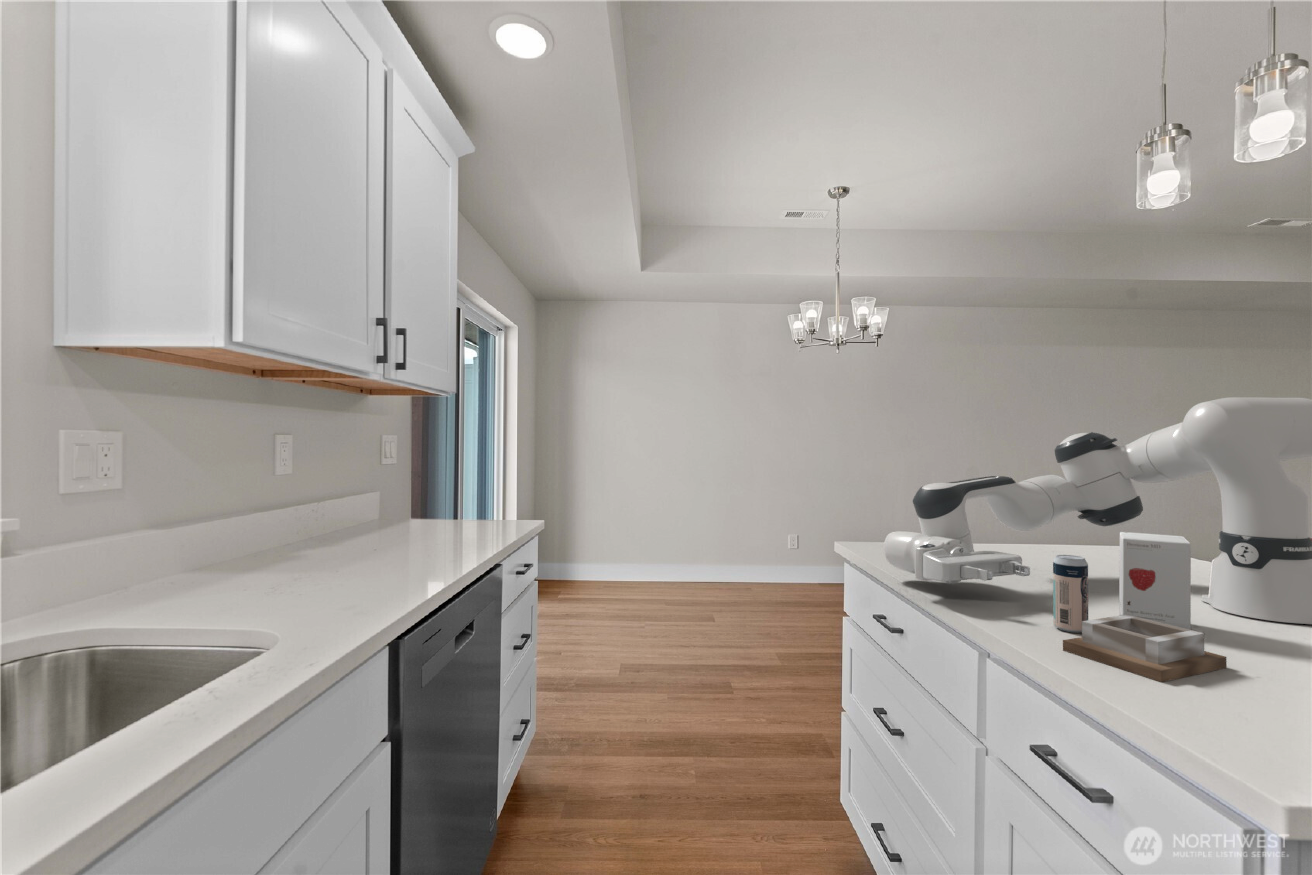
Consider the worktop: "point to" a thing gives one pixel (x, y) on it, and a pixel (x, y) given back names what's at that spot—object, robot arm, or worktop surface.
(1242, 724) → the worktop surface
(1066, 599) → the beer can
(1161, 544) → the supplement box
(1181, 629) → the socket base
